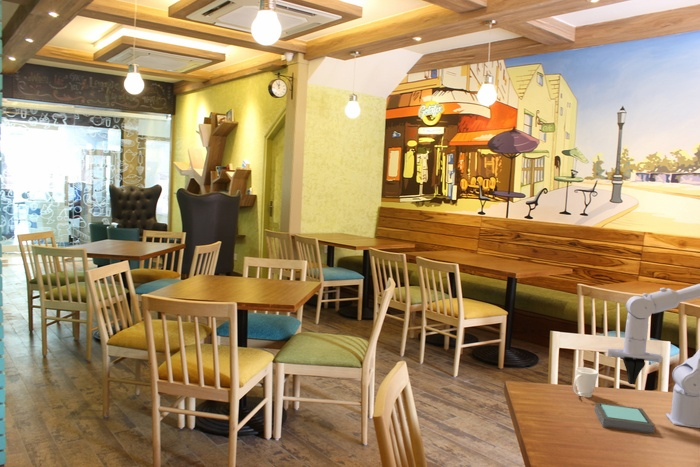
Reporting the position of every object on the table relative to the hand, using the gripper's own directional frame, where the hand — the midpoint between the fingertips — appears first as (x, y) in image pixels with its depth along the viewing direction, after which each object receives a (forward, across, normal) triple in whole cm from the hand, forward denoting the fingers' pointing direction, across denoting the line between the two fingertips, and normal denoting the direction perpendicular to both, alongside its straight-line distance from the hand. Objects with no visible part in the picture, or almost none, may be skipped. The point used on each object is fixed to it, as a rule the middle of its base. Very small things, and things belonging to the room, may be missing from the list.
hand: (631, 383), depth 169 cm
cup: (+10, +11, -12) cm, 19 cm away
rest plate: (+8, +3, +7) cm, 11 cm away
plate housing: (+9, +3, +7) cm, 12 cm away
